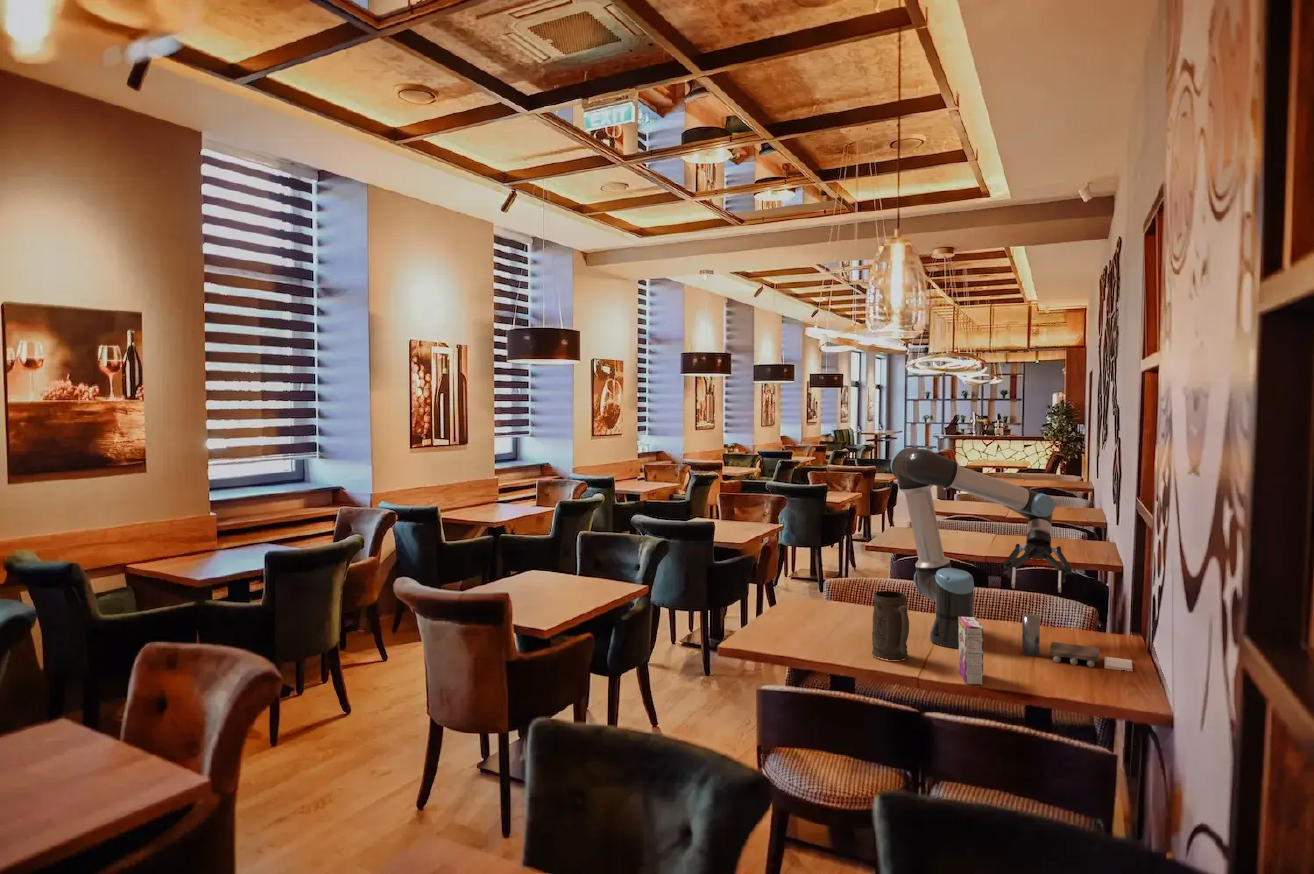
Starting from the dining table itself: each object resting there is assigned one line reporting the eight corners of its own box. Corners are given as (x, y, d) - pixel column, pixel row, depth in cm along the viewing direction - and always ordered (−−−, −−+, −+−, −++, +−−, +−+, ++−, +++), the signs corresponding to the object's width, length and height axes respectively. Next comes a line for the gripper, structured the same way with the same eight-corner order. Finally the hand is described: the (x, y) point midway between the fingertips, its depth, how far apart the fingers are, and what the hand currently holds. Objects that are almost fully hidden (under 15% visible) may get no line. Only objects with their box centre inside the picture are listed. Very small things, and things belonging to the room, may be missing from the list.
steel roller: (1021, 655, 241) (1021, 616, 241) (1022, 650, 245) (1023, 613, 245) (1039, 657, 239) (1039, 618, 238) (1040, 653, 243) (1040, 615, 243)
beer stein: (863, 652, 244) (865, 591, 242) (890, 648, 248) (893, 587, 247) (896, 670, 230) (899, 605, 228) (924, 665, 234) (927, 601, 233)
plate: (1104, 668, 228) (1104, 664, 228) (1104, 659, 236) (1104, 656, 236) (1132, 671, 224) (1132, 668, 224) (1131, 663, 232) (1131, 659, 232)
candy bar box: (957, 671, 226) (957, 616, 226) (975, 672, 225) (975, 616, 225) (964, 684, 215) (965, 626, 215) (983, 685, 214) (984, 627, 214)
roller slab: (1049, 661, 234) (1049, 651, 234) (1051, 651, 244) (1051, 641, 244) (1098, 668, 228) (1098, 657, 228) (1099, 658, 237) (1099, 647, 237)
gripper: (1080, 544, 260) (1079, 598, 248) (1000, 539, 273) (995, 590, 260) (1080, 531, 256) (1079, 585, 243) (998, 526, 268) (993, 577, 256)
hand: (1035, 588), depth 252 cm, fingers open, 13 cm apart
